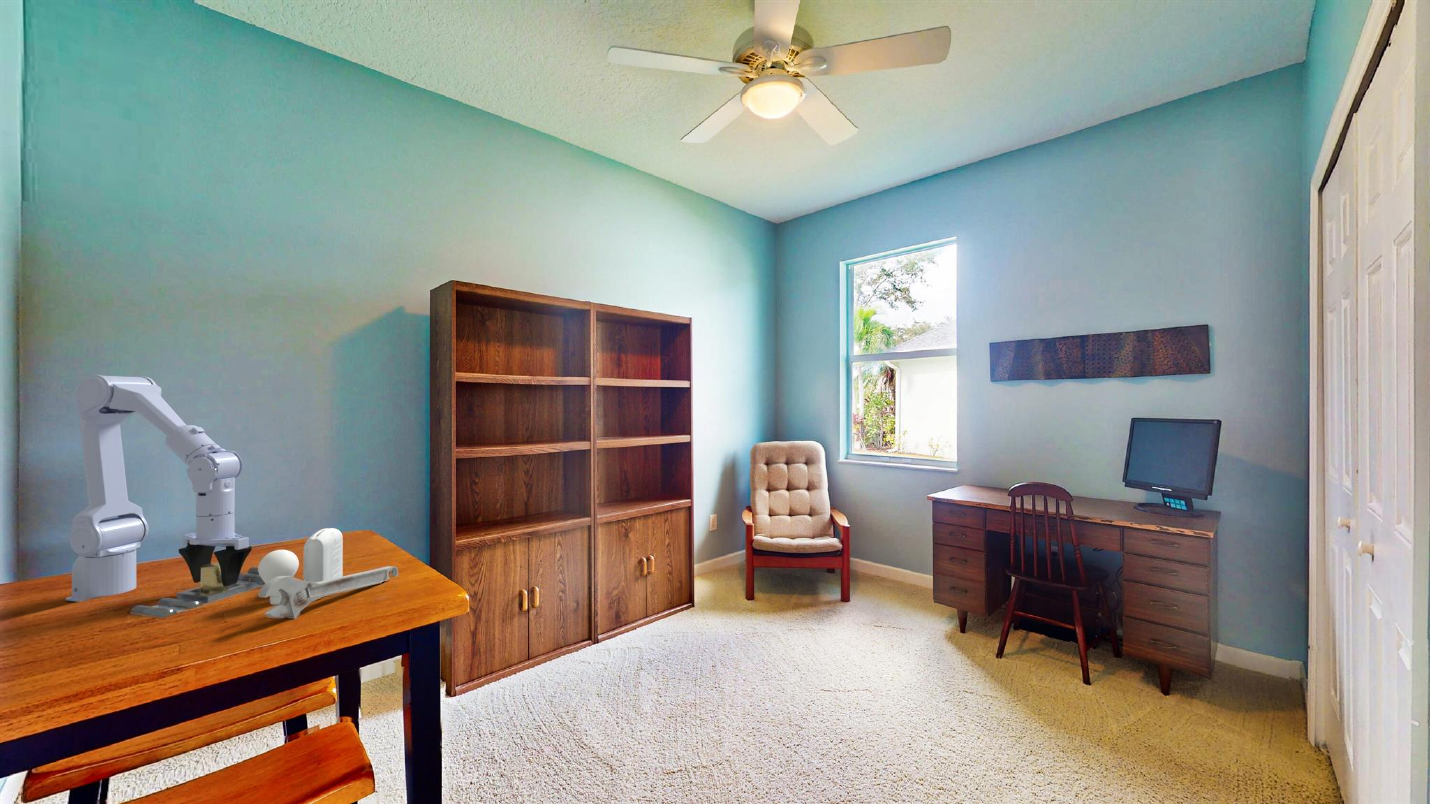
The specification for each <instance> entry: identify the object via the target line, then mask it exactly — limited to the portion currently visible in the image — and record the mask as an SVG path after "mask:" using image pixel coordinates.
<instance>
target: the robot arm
mask: <svg viewBox="0 0 1430 804" xmlns="http://www.w3.org/2000/svg"><path fill="white" fill-rule="evenodd" d="M74 389H75V398H76V405H77V414H78V419H79V428H80V429H79V430H80V437H81V446H82V456H83V463H84V464H83V465H84V474H85V483H86V492H87V499H88V501H87V503H88V506H87V507H86V508H84V509H83V510H82V511H80V512H79V513H77V514H76V515H75V516H74V517H73V518H71V522H72V528H71V531H70V534H69V538H68V539H69V540H68V541H69V542H68V543H69V545H70V548H71V549H72V550H73V551H74V552H75V553H76V554H78V557H77V558H76V559H75V561H74V562H73V564H72V567H71V596H68V597H65V601H70V602H76V603H79V602H83V601H87V600H91V599H94V598H95V599H96V598H101V597H103V598H104V597H108V596H109V597H110V596H115V595H119V594H123V593H127V592H130V591H133V590H135V589H137V549H138V548H141V543H142V542H143V543H144V541H145V540H146V539H147V537H148V535H149V529H150V528H149V524H148V522H147V520H146V518H145V516H144V513H143V508H142V507H141V506H139V505H137V504H136V503H134V502H131V501H130V500H129V496H128V488H127V487H128V486H127V478H126V468H125V457H124V451H123V450H124V449H123V442H122V441H123V440H122V431H121V424H122V423H123V422H124V421H125V420H126V419H127V418H130V417H132V416H134V415H135V414H137V413H138V414H139V415H140V416H142V418H144V419H145V420H147V421H148V422H149V423H150V424H152V426H154V427H156V428H157V429H158V430H159V431H160V432H161V433H163V434H164V435H165V440H164V444H165V445H166V446H167V447H168V448H169V449H170V451H172V452H173V453H174V454H175V455H176V456H177V457H178V458H179V459H180V460H181V461H182V462H184V464H185V465H187V467H188V468H187V467H186V474H187V477H188V478H189V480H190V482H191V484H192V490H193V493H195V532H192V533H185V534H182V545H185V546H184V547H181V548H179V549H178V554H179V555H180V556H181V557H182V558H183V560H184V561H185V564H187V567H188V569H189V572H190V574H191V577H192V581H193V583H195V584H198V583H201V566H203V565H206V564H210V563H211V562H212V559H213V555H214V557H215V558H216V560H217V562H219V565H220V570H221V579H222V584H223V586H229V585H232V584H236V583H237V581H238V578H239V574H240V573H241V572H242V568H243V566H244V563H245V561H246V560H247V557H248V556H249V555H250V553H251V551H252V550H253V547H252V546H251V545H250V538H249V536H242V535H241V534H238V533H236V531H235V530H236V527H235V526H236V525H235V520H236V519H235V517H236V515H235V513H236V511H235V509H236V508H235V507H236V506H235V504H236V501H235V500H236V499H235V498H236V495H235V493H236V492H235V491H236V488H235V487H236V485H235V484H236V483H235V482H236V480H235V479H236V478H238V477H239V476H240V475H241V474H242V472H243V468H244V463H243V460H242V458H241V456H240V455H239V454H238V453H237V452H236V451H233V450H227V449H225V448H223V447H221V446H220V445H219V444H217V443H216V442H215V441H213V439H211V437H210V436H208V435H207V434H206V433H205V431H206V430H204V428H202V427H201V426H197V425H195V424H194V425H193V424H190V425H189V424H186V423H185V422H184V421H183V419H182V418H181V417H180V416H179V415H178V414H177V413H176V412H175V411H174V409H173V408H172V407H171V406H170V405H169V404H168V403H167V401H166V400H165V399H164V398H163V397H162V387H161V386H159V385H158V384H157V383H156V382H155V381H154V380H153V379H152V378H151V377H148V376H141V375H140V376H120V375H101V374H90V375H87V376H86V377H85V378H83V380H82V381H80V383H79V384H78V385H77V386H76V387H75V388H74ZM112 517H114V518H112ZM216 547H218V548H219V547H220V548H221V547H222V548H224V549H221V550H215V549H216Z"/></svg>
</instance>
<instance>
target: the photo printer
mask: <svg viewBox="0 0 1430 804" xmlns="http://www.w3.org/2000/svg"><path fill="white" fill-rule="evenodd" d="M343 538H344V536H343V534H342V532H341V531H340V530H339V529H337V528H335V527H332V528H331V527H329V528H328V527H327V528H322V529H319V530H317V531H316V532H315V533H313V534H312V535H311V536H310V537H308V539H307V540H306V542H305V543H304V545H303V569H302V570H303V571H302V575H303V576H302V577H303V578H302V579H303V580H302V581H306V582H312V583H316V582H320V581H325V580H329V579H333V578H338V577H342V576H344V575H343V574H344V573H343V572H344V571H343V568H344V567H343V565H344V563H343V561H344V559H343V558H344V556H343V553H344V552H343V551H344V549H343V548H344V547H343V546H344V545H343V543H344V540H343Z"/></svg>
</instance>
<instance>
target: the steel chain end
mask: <svg viewBox="0 0 1430 804" xmlns="http://www.w3.org/2000/svg"><path fill="white" fill-rule="evenodd" d="M246 592H247V591H245V592H242V593H246ZM242 593H239V594H242ZM239 594H236V595H239ZM236 595H235V596H236ZM230 597H231V596H229V597H226V598H227V599H228V598H230ZM226 598H223V599H226ZM223 599H220V600H219V601H221V600H223ZM217 601H218V600H216V601H213V602H210V603H214V602H217ZM210 603H203V602H195V601H187V600H180V599H177V598H171V597H162V598H161V599H159V600H158V602H157V604H155V605H153V606H149V605H142V604H140V605H139V604H137V605H135V606H133V607H132V608H131V610H130V614H134V615H141V616H145V617H146V616H147V617H154V618H161V619H162V618H168V617H169V616H174V615H177V614H178V613H183V612H186V611H188V610H192V609H195V608H199V607H202V606H204V605H208V604H210Z"/></svg>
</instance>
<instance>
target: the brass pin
mask: <svg viewBox="0 0 1430 804" xmlns="http://www.w3.org/2000/svg"><path fill="white" fill-rule="evenodd" d="M200 586H201V593H205V594H212V593H216V592H219V591H222V590H226V589H228V586H223V584H222V579H221V570H220V565H219V562H218V561H217V562H212V563H210V564H206V565H203V566H201V582H200Z"/></svg>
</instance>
